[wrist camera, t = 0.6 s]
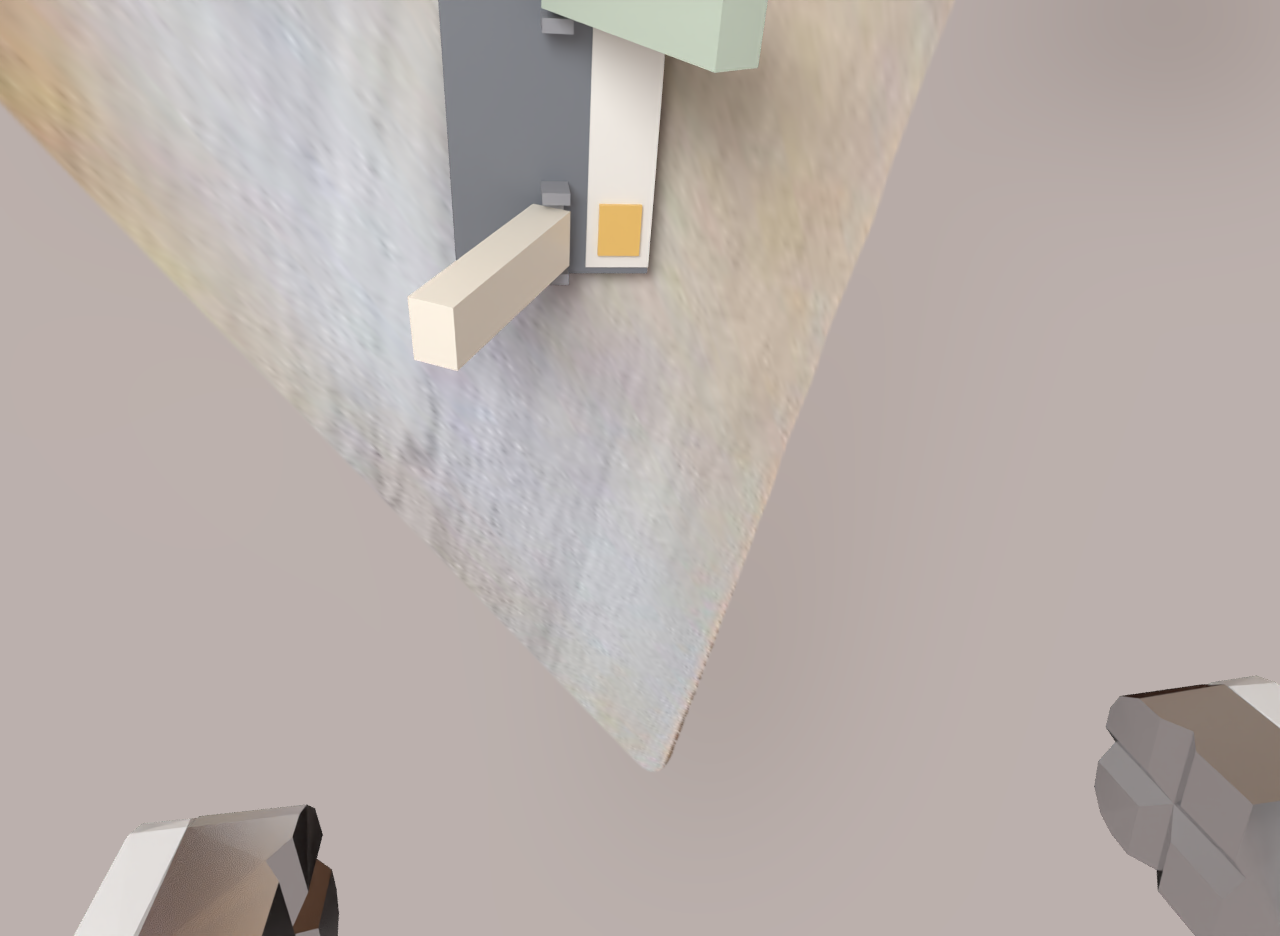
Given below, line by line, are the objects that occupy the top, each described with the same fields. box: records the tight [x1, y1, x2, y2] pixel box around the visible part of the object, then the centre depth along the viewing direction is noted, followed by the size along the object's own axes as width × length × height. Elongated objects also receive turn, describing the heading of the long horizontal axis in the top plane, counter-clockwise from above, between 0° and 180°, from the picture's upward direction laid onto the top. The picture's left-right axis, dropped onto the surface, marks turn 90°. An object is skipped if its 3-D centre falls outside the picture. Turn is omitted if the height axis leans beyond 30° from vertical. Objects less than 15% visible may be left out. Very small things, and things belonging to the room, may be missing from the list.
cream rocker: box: [408, 204, 570, 371], centre depth 46 cm, size 2×4×15 cm
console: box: [438, 0, 665, 285], centre depth 47 cm, size 12×20×4 cm, turn 177°
